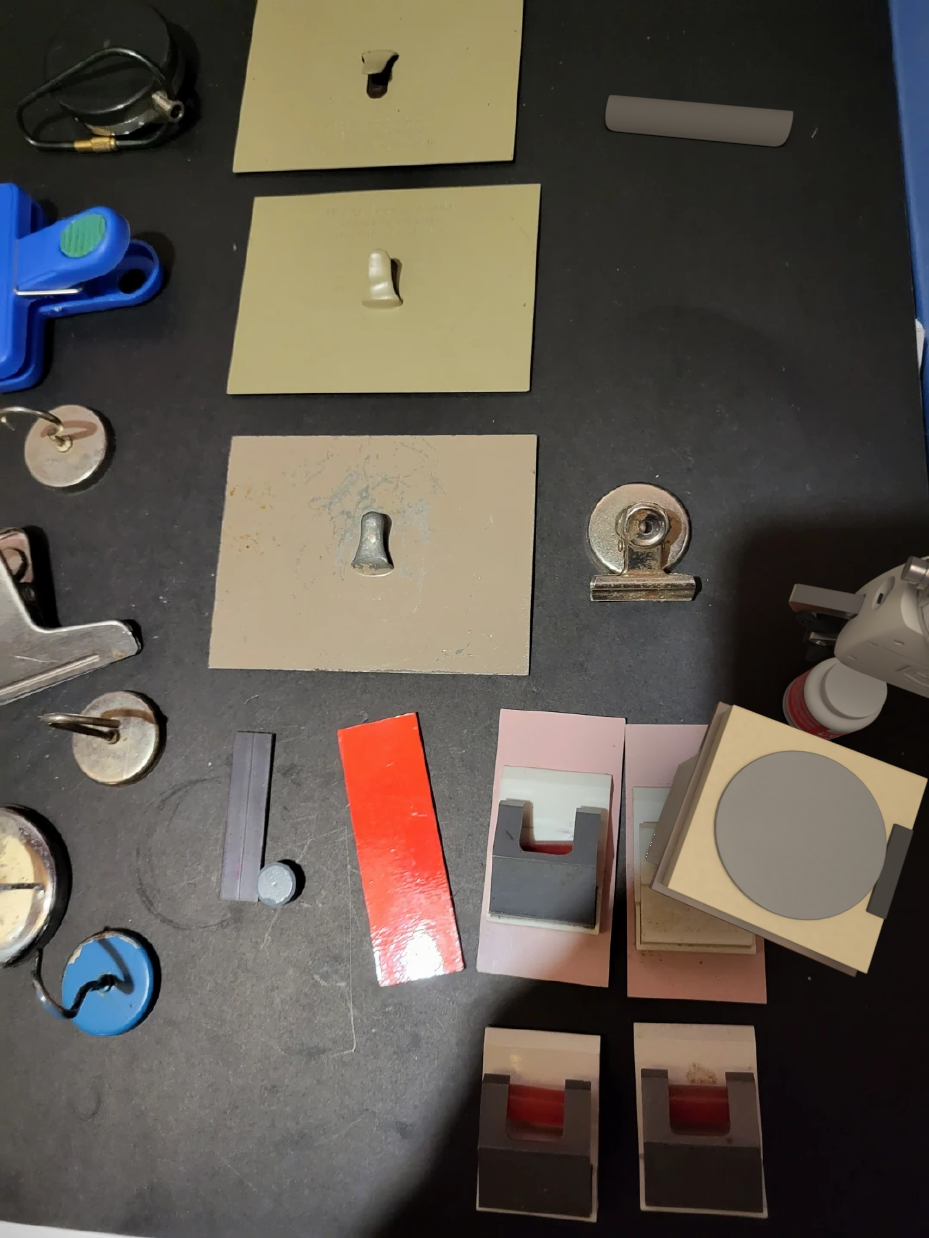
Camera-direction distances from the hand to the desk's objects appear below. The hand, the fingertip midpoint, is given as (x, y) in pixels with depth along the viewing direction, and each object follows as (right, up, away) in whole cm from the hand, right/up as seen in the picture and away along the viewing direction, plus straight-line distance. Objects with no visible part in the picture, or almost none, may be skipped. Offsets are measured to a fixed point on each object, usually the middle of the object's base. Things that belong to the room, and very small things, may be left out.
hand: (885, 666), depth 60 cm
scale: (-10, -9, -10) cm, 17 cm away
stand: (-7, -16, +17) cm, 24 cm away
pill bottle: (+3, -5, +18) cm, 19 cm away
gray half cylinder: (-4, +57, +34) cm, 66 cm away
